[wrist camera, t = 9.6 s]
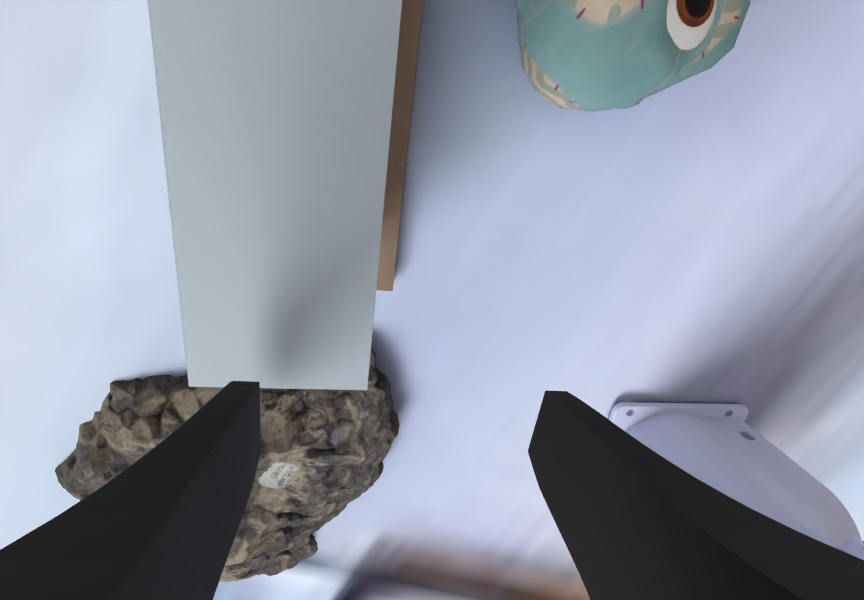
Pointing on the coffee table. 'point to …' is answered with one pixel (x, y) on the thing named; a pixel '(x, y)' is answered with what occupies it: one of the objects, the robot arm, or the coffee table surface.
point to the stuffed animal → (621, 46)
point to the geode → (278, 462)
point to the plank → (276, 182)
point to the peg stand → (399, 139)
